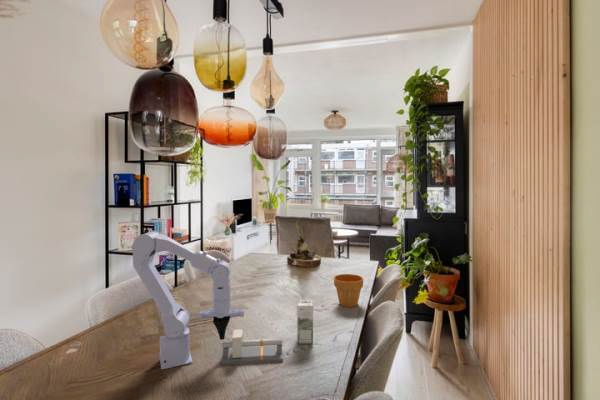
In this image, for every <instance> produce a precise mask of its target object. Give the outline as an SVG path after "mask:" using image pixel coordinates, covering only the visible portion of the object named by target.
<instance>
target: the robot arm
mask: <svg viewBox="0 0 600 400" xmlns="http://www.w3.org/2000/svg"><path fill="white" fill-rule="evenodd" d="M130 249H131V250H132V265H133V268H134V270H135V271H136V273H137V275H138V277H139V279H140V280H141V281H142V283H143V285H144V286H145V288H146V290H147V291H148V293H149V296H150V297H151V298H152V300H153V301H154V304H155V305H156V306H157V309H158V310H159V311H160V314H161V315H160V316H161V317H160V320H161V323H162V324H163V332H164V334H165V335H162V336H160V337H159V354H158V355H159V356H158V359H159V360H158V361H159V362H160V370H167V369H170V368H175V367H178V366H183V365H188V364H192V363H193V358H192V356H191V350H190V348H191V345H190V344H191V343H190V342H191V341H190V340H191V339H190V338H191V336H190V329H189V326H188V325H189V324H190V322H191V314H190V312H189V311H188V310H186V309H185V308H184V307H183V306H182V304H180V303H178V302H177V301H176V300H175V298H174V296H173V294H172V293H171V291H170V290H169V288H168V287H167V285H166V283H165V281H164V280H163V278H162V276H161V275H160V273H159V272H158V269H157V268H156V266H155V265H154V263H153V261H154V258H155V255H156V253H161V252H169V253H171V254H173V255H175V256H178V257H180V258H182V259H185V260H186V261H189V263H190V266H191V267H192V268H194V269H196V270H198V271H200V272H202V273H204V274H205V275H208V276H210V277H211V279H212V309H208V310H201V311H199V314H198V316H199V317H198V319H199V320H202V319H206V318H207V319H208V318H209V319H213V320H212V321H213V322H212V323H213V325H214V326H215V328H216V331H217V333H218V337H219V340H220V341H221V340H222V341H223V340H225V337H226V330H227V328H228V325H229V322H230V320H231V318H232V317H234V318H236V317H237V318H238V317H240V318H244V316H245V308H244V309H242V308H241V309H240V308H239V309H238V308H231V305H232V304H231V278H230V274H231V272H232V271H231V270H232V269H231V265H230V263H228V262H227V261H226V260H224V259H222V260H221V259H220V258H219V257H218V258H216V257H214V256H212V255H210V254H209V253H208V251H206V250H204V251H202V250H198V251H194V250H192V249H191V248H188V247H186V246H185V245H183V244H181V243H180V242H179V241H176V240H175V239H173V238H171V237H169V235H166V234H164V233H160V232H159V231H157V230H151V231H150V230H149V231H148V232H146V233H143V234H138V236H136V237H135V239H134V241H133V243H132V245H131V247H130Z"/></svg>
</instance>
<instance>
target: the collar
mask: <svg viewBox="0 0 600 400" xmlns="http://www.w3.org/2000/svg"><path fill="white" fill-rule="evenodd" d="M231 339H232V340H231V341H232V358H238V357H242V352H243V348H244V347H242V341H243V340H244V330H243V329H233V334H232V338H231Z"/></svg>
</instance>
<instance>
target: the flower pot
mask: <svg viewBox="0 0 600 400" xmlns="http://www.w3.org/2000/svg"><path fill="white" fill-rule="evenodd" d="M333 285H334V287H335V289H336V294H337V298H338V303H339V305H340V306H342V307H346V308H353V307H354V308H355V307H356V306H358V304H359V300H360V299H359V298H360V295H361V294H360V293H361V291H362V288H363V287H364V278H363V277H362V276H361V275H359V274H358V275H357V274H353V273H351V274H349V273H344V274H338V275H334V277H333Z"/></svg>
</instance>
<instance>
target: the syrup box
mask: <svg viewBox="0 0 600 400" xmlns="http://www.w3.org/2000/svg"><path fill="white" fill-rule="evenodd" d="M296 301H297V302H296V309H297V311H296V316H297V317H296V318H297V319H296V320H297V321H296V322H297V324H296V326H297V327H296V329H297V330H296V331H297V332H296V334H297V335H296V336H297V344H298V345H308V344H311V345H312V344H314V305H313V301H312V300H296Z"/></svg>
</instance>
